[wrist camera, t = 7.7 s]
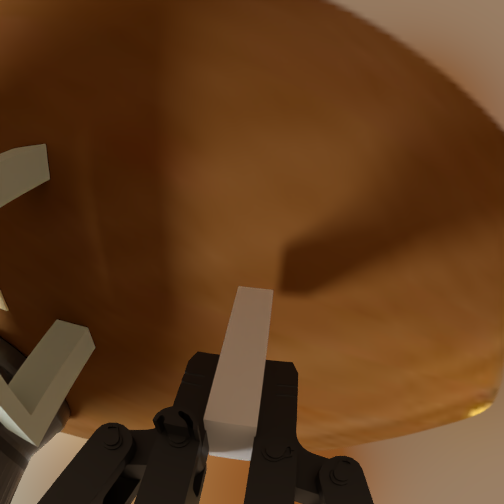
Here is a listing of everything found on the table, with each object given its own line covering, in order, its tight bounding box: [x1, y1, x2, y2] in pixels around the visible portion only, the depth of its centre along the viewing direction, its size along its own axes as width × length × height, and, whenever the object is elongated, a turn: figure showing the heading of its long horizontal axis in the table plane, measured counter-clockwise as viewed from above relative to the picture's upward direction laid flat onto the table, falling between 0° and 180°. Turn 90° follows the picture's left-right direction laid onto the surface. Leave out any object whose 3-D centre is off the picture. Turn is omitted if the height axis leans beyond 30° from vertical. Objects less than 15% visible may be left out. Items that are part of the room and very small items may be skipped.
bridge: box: [0, 144, 96, 447], centre depth 13 cm, size 3×14×9 cm, turn 177°
